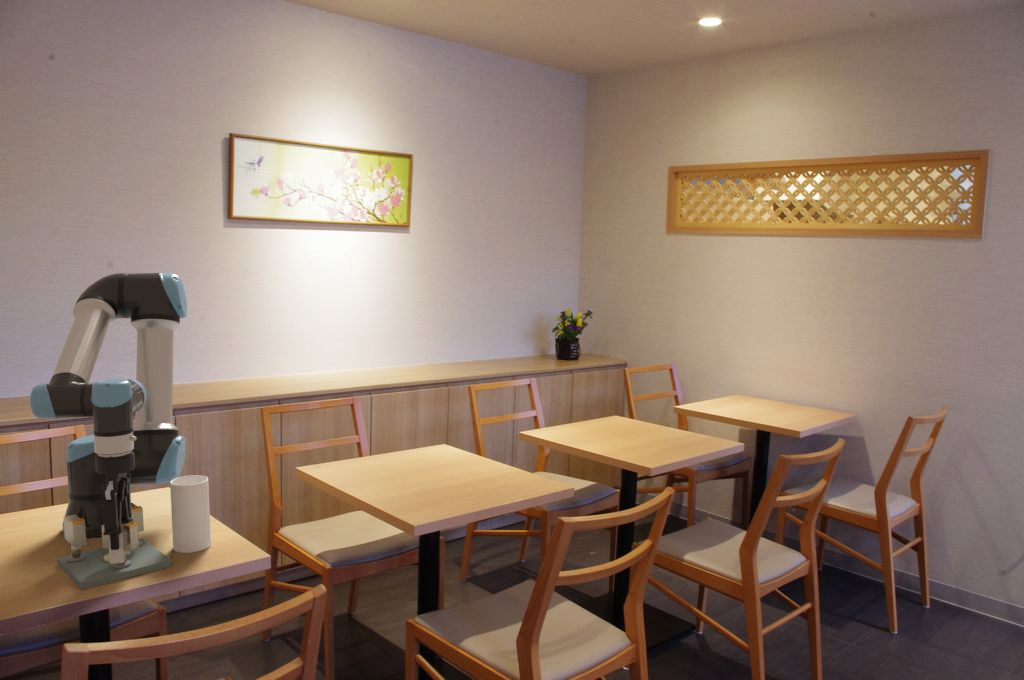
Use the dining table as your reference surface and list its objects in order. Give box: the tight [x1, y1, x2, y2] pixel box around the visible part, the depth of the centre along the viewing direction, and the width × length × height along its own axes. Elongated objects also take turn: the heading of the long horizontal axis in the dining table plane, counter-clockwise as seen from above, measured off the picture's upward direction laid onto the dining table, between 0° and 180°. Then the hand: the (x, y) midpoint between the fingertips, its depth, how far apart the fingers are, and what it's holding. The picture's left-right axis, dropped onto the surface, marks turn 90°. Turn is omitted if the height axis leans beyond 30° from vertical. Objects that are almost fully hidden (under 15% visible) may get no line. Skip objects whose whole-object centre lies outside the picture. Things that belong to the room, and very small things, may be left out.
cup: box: [169, 474, 212, 554], centre depth 186 cm, size 8×8×16 cm
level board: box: [56, 537, 173, 591], centre depth 175 cm, size 18×18×2 cm
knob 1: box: [101, 522, 139, 564], centre depth 171 cm, size 7×2×9 cm, turn 77°
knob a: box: [63, 515, 87, 557], centre depth 174 cm, size 7×2×9 cm, turn 44°
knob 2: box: [129, 502, 145, 533], centre depth 182 cm, size 7×2×9 cm, turn 44°
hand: (120, 558), depth 171 cm, fingers closed on knob 1, 4 cm apart
